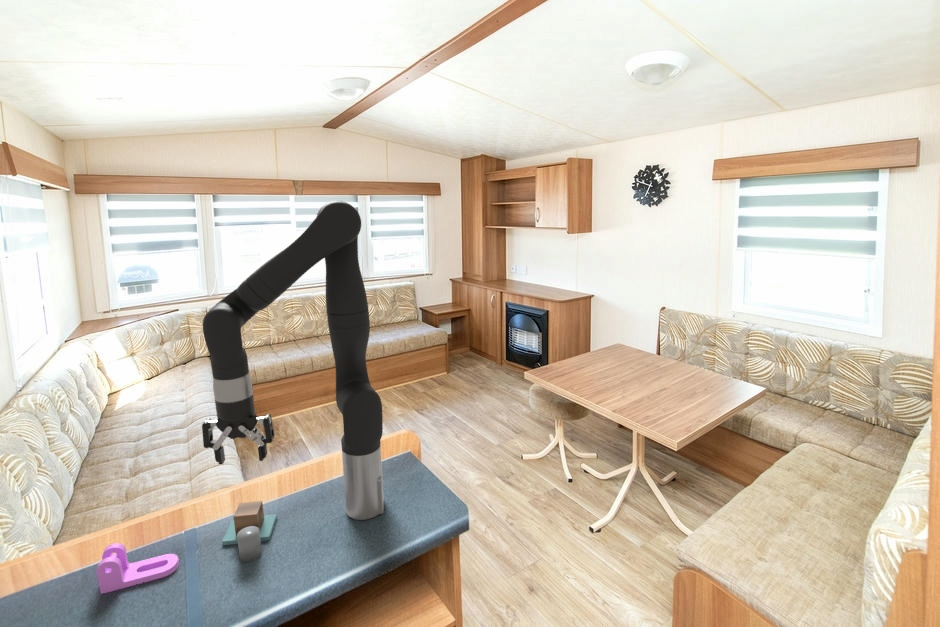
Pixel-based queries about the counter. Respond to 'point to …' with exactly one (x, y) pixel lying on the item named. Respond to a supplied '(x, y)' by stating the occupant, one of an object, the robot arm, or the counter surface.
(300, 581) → the counter surface
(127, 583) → the bracket
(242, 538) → the grey rounded part
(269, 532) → the teal mat
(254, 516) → the walnut block
